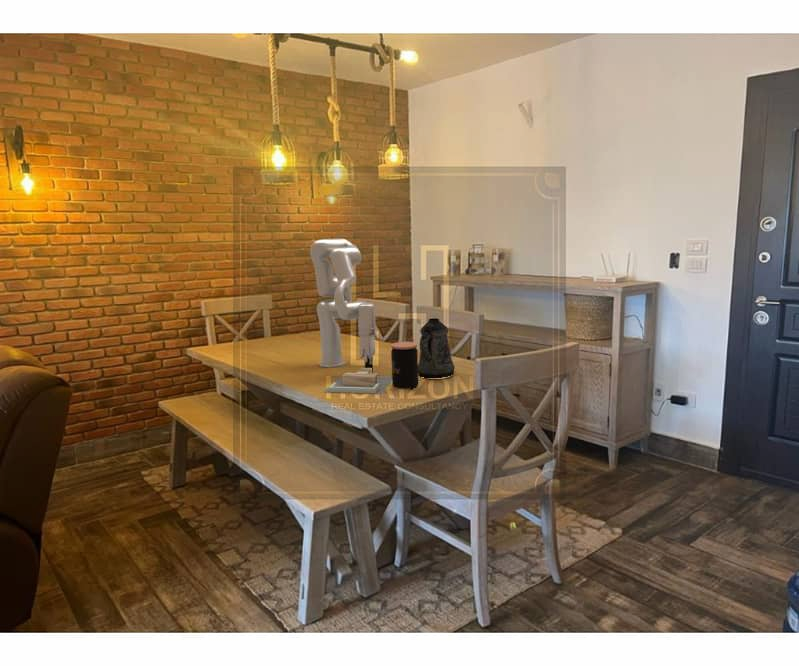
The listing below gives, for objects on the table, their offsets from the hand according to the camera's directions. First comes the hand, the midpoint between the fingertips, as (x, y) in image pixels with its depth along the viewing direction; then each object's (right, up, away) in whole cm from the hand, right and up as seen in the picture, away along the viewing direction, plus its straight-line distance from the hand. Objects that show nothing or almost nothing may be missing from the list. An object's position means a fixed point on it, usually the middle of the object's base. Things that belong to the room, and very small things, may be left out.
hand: (369, 372), depth 256 cm
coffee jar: (+16, -5, -17) cm, 24 cm away
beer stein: (+29, -1, -1) cm, 30 cm away
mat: (-3, -5, -14) cm, 15 cm away
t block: (-2, -3, -9) cm, 10 cm away
